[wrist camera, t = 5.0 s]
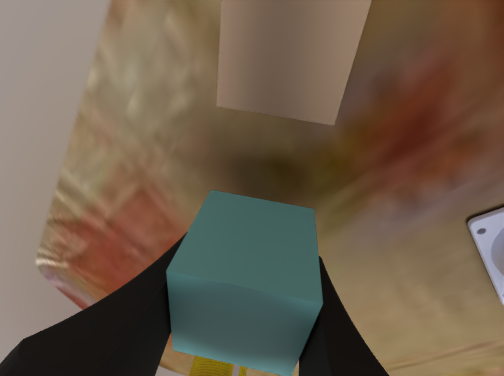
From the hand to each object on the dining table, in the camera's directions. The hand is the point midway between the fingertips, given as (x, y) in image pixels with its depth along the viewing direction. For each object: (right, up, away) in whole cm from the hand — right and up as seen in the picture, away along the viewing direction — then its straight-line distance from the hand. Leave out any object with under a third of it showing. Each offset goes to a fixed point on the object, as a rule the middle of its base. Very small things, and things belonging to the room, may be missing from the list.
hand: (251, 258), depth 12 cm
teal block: (0, +1, +1) cm, 1 cm away
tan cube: (+2, +11, +1) cm, 11 cm away
